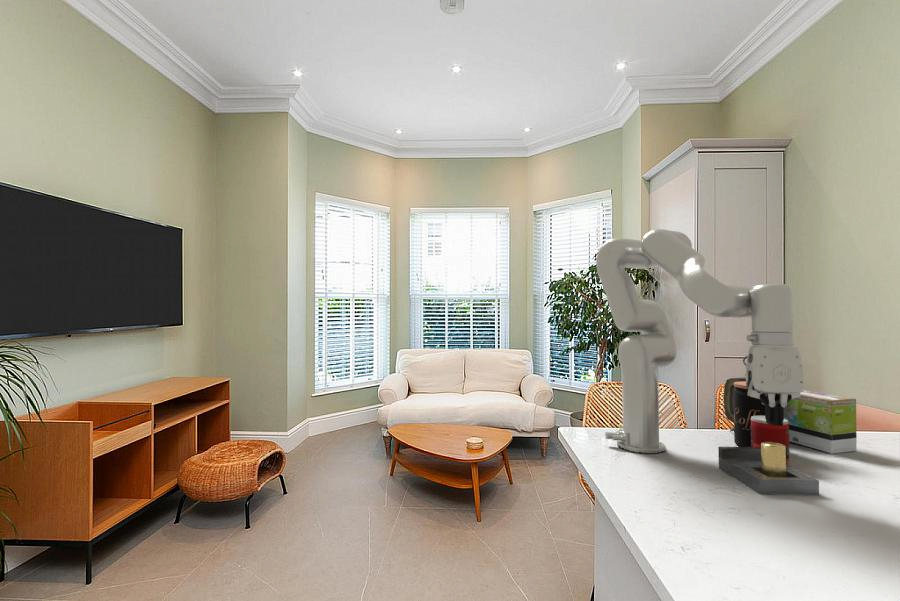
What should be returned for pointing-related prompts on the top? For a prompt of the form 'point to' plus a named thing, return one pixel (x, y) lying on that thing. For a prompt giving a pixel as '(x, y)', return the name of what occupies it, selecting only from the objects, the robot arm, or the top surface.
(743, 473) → the frame
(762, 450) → the pale yellow cylinder
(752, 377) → the robot arm
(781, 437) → the canned food
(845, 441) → the tea box
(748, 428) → the coffee jar
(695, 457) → the top surface
